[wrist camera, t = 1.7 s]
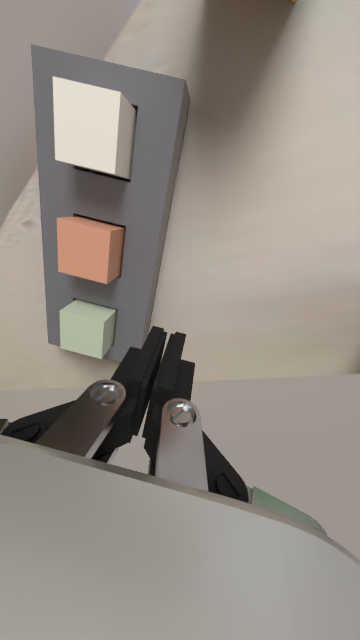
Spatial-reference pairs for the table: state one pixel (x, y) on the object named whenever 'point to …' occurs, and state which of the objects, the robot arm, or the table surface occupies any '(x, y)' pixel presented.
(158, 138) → the key console
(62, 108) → the cream key
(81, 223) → the terracotta key
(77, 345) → the sage key
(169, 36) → the table surface
